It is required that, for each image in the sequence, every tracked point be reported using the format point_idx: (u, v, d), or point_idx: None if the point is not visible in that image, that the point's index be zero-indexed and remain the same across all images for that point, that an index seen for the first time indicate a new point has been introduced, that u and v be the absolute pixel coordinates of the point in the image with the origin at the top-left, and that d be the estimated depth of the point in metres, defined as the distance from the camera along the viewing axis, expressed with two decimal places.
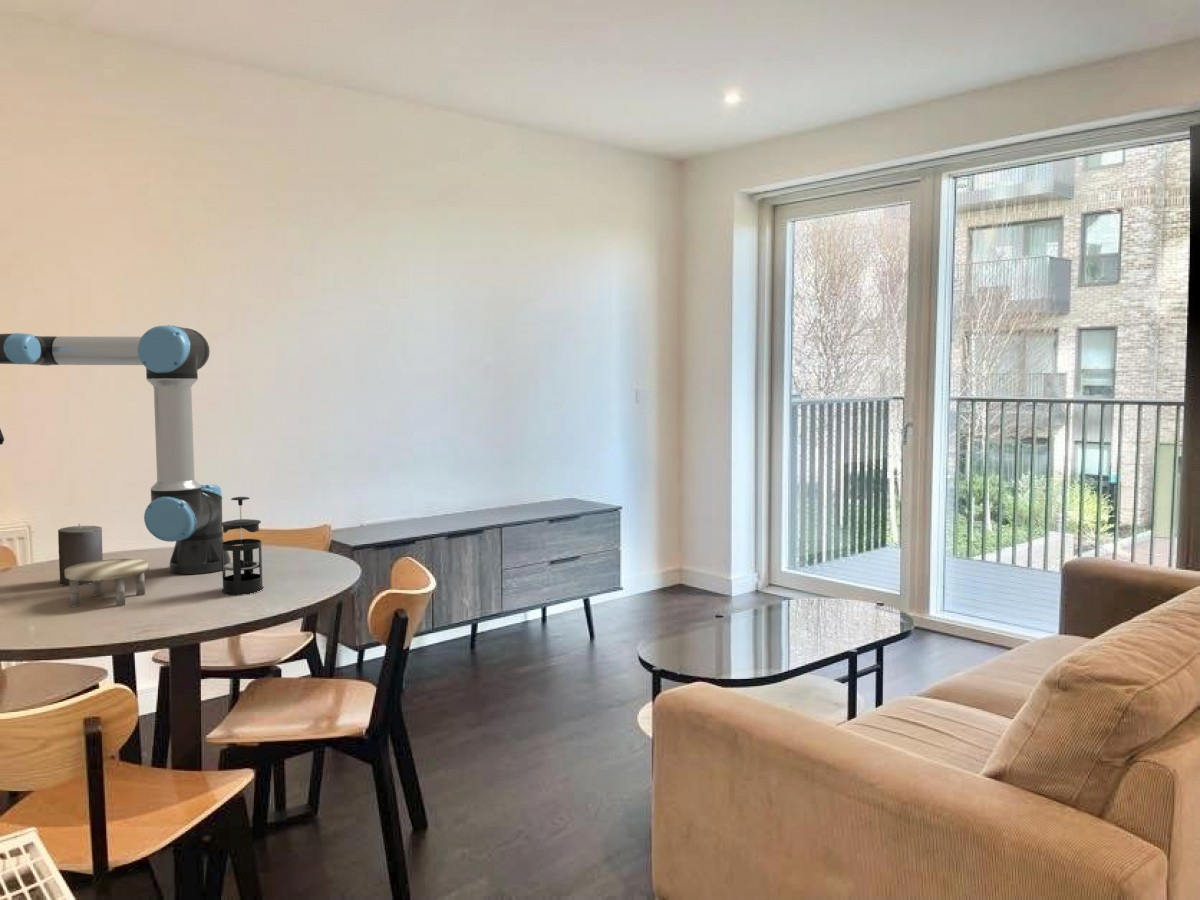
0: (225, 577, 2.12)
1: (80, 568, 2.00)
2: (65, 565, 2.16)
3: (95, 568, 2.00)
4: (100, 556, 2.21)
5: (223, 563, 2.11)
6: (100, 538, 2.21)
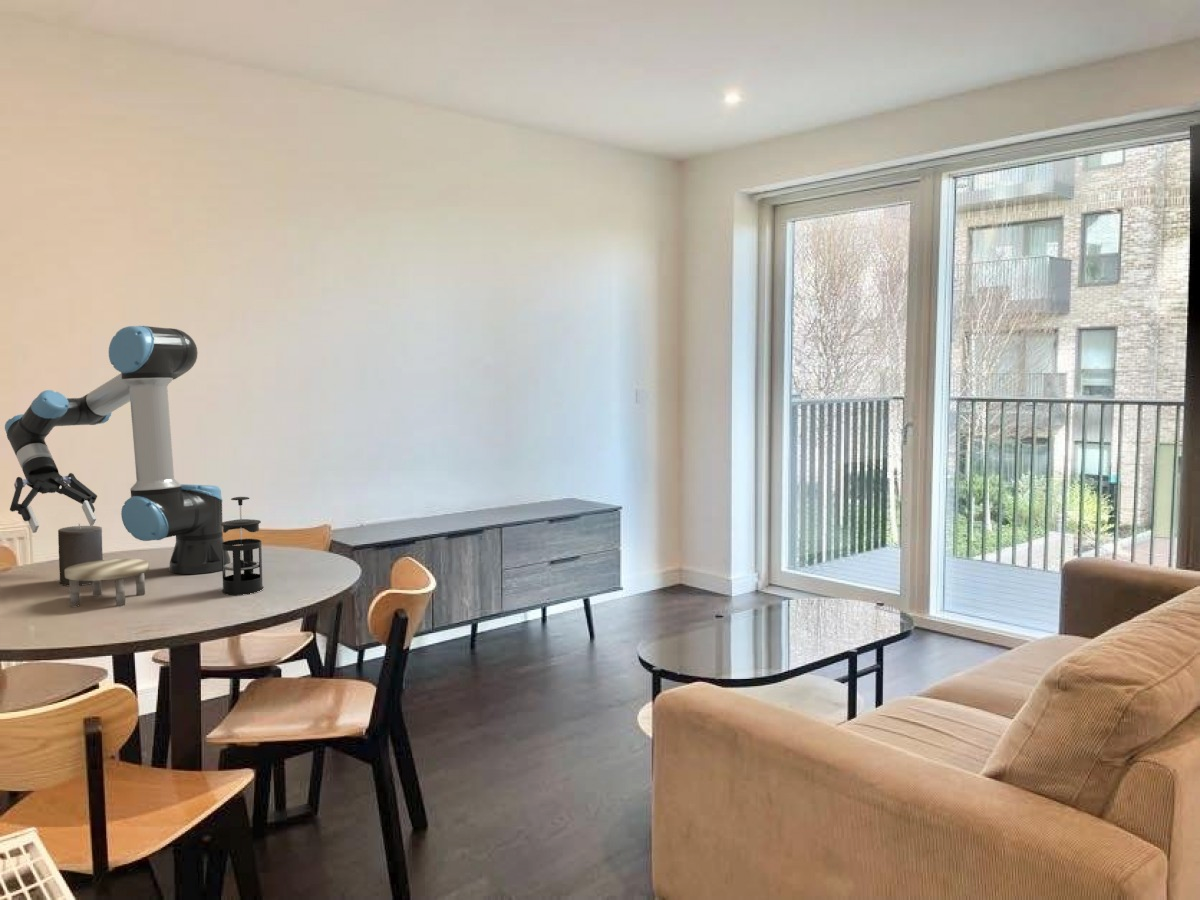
0: (225, 577, 2.12)
1: (80, 568, 2.00)
2: (65, 565, 2.16)
3: (95, 568, 2.00)
4: (100, 556, 2.21)
5: (223, 563, 2.11)
6: (100, 538, 2.21)
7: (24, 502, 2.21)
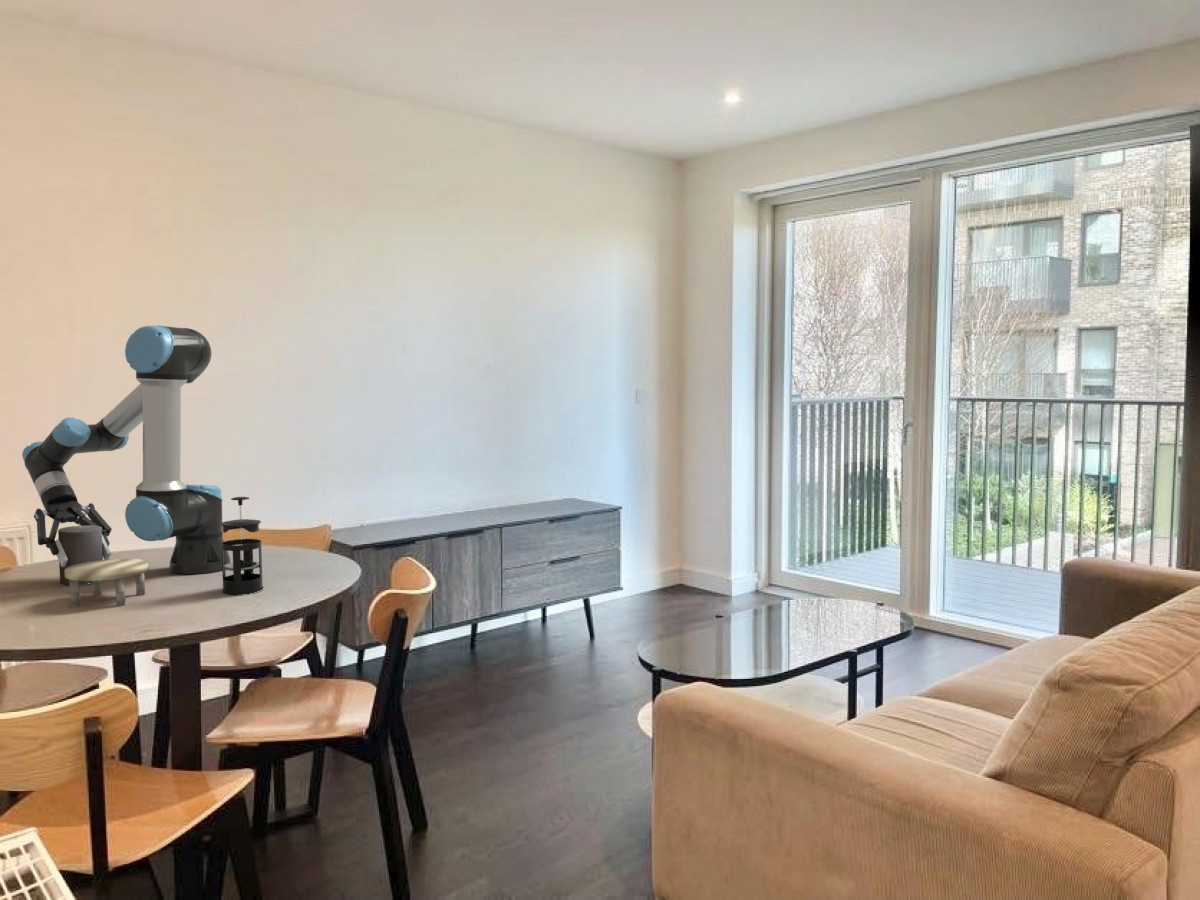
0: (225, 577, 2.12)
1: (80, 568, 2.00)
2: (65, 565, 2.17)
3: (95, 568, 2.00)
4: (100, 556, 2.21)
5: (223, 563, 2.11)
6: (100, 538, 2.21)
7: (52, 535, 2.17)
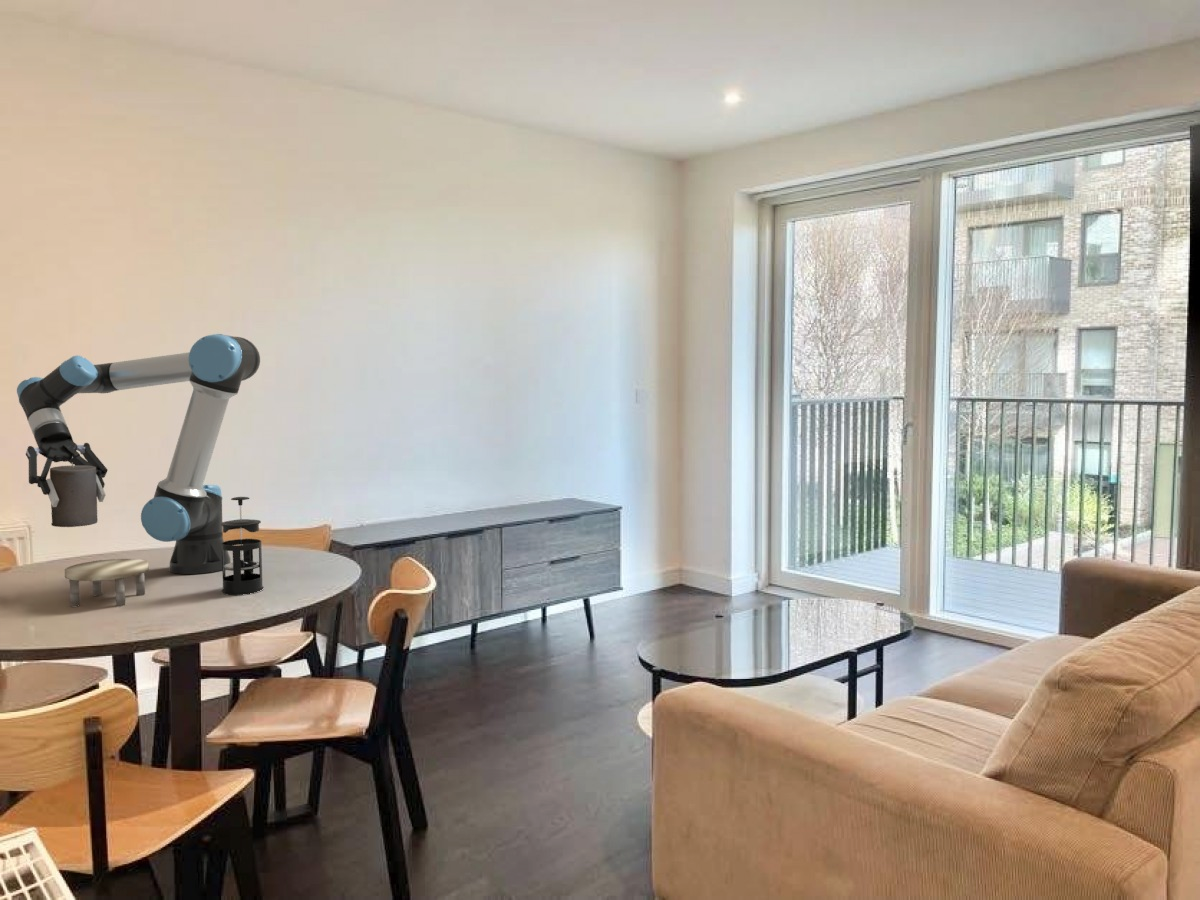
0: (225, 577, 2.12)
1: (80, 568, 2.00)
2: (57, 506, 2.06)
3: (95, 568, 2.00)
4: (94, 497, 2.11)
5: (223, 563, 2.11)
6: (94, 478, 2.10)
7: (43, 474, 2.06)
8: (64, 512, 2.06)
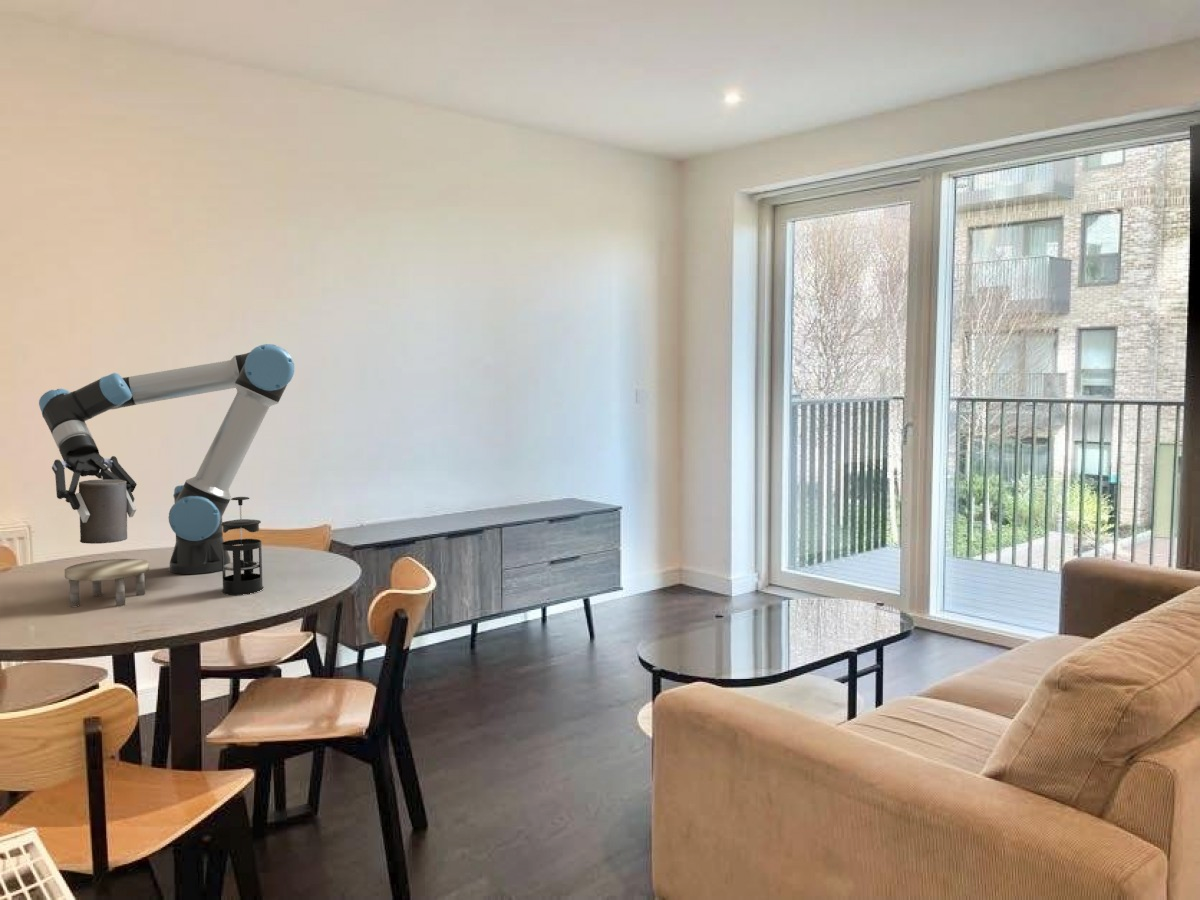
0: (225, 577, 2.12)
1: (80, 568, 2.00)
2: (87, 521, 1.97)
3: (95, 568, 2.00)
4: (124, 512, 2.02)
5: (223, 563, 2.11)
6: (125, 492, 2.02)
7: (72, 488, 1.97)
8: (95, 528, 1.97)
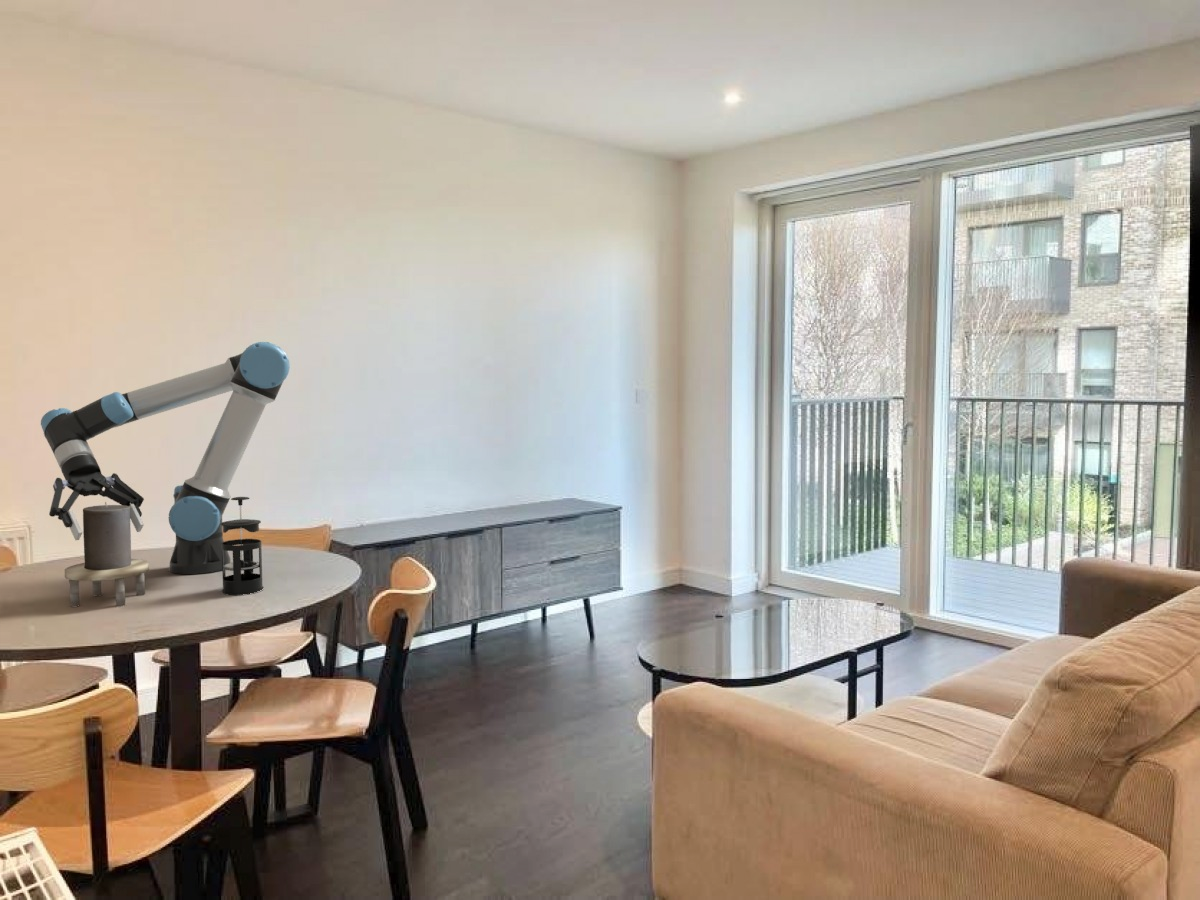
0: (225, 577, 2.12)
1: (80, 568, 2.00)
2: (91, 548, 1.97)
3: None
4: (128, 538, 2.02)
5: (223, 563, 2.11)
6: (128, 518, 2.02)
7: (65, 506, 1.97)
8: (99, 554, 1.98)
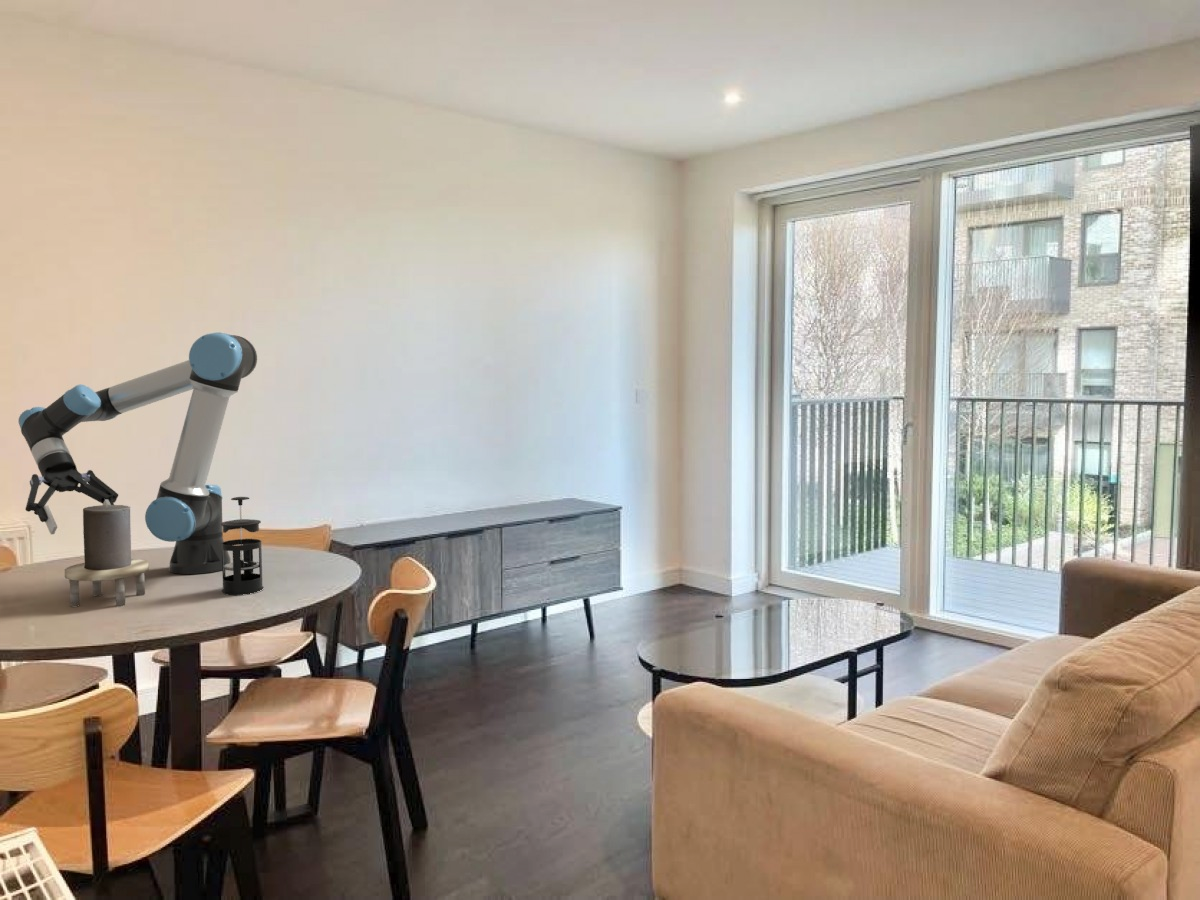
0: (225, 577, 2.12)
1: (80, 568, 2.00)
2: (91, 547, 1.97)
3: None
4: (128, 538, 2.02)
5: (223, 563, 2.11)
6: (128, 518, 2.02)
7: (41, 501, 2.04)
8: (99, 554, 1.98)
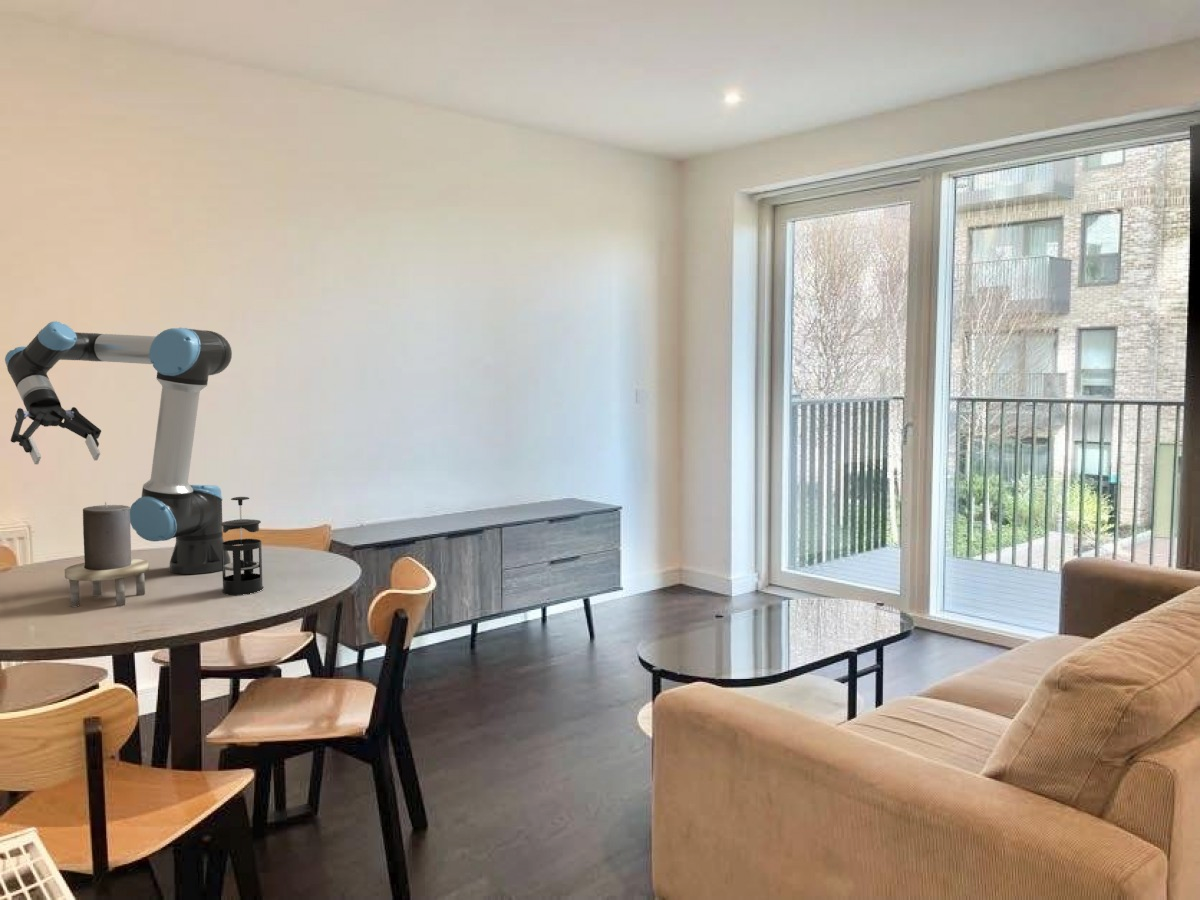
0: (225, 577, 2.12)
1: (80, 568, 2.00)
2: (91, 548, 1.97)
3: None
4: (128, 538, 2.02)
5: (223, 563, 2.11)
6: (128, 518, 2.02)
7: (25, 433, 2.12)
8: (99, 554, 1.97)
